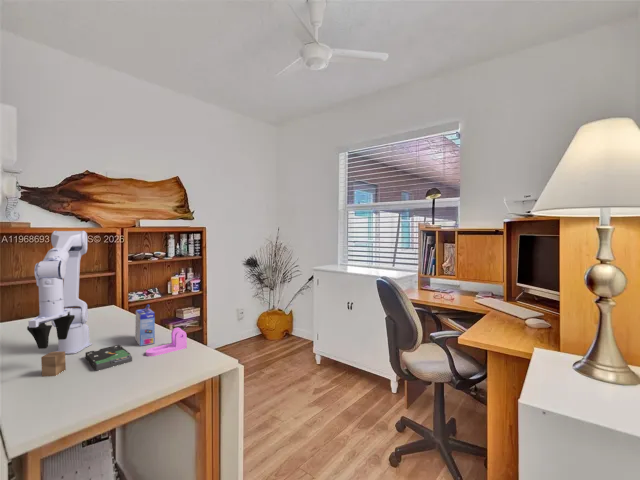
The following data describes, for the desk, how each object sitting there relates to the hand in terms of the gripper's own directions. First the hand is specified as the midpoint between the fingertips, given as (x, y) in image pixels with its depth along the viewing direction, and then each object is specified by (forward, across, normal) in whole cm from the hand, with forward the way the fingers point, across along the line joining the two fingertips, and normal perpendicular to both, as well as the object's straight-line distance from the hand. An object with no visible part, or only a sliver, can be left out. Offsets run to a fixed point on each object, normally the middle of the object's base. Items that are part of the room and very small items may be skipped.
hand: (53, 343), depth 96 cm
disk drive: (+10, +9, -11) cm, 17 cm away
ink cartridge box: (+10, +26, -15) cm, 31 cm away
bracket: (+10, +16, -27) cm, 33 cm away
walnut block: (+9, 0, 0) cm, 9 cm away
